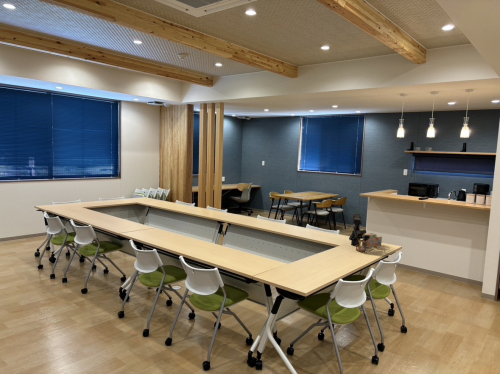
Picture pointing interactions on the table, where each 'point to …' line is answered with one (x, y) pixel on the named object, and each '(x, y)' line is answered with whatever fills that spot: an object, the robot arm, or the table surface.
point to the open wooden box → (362, 245)
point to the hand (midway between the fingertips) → (361, 245)
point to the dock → (368, 248)
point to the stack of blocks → (373, 240)
